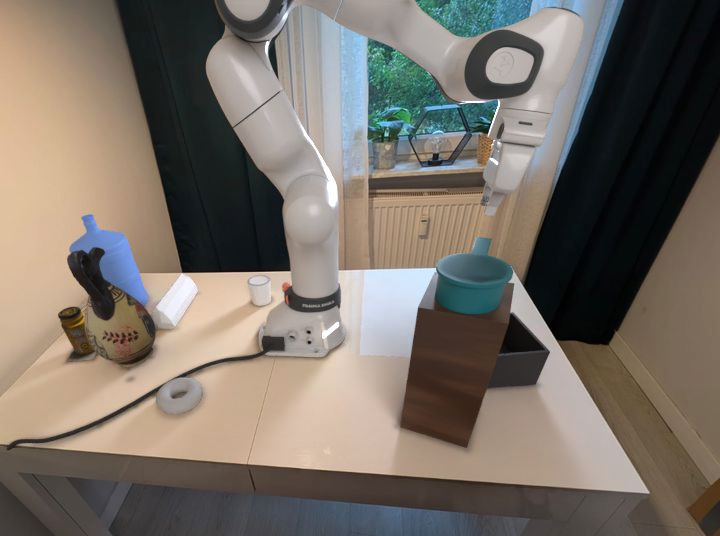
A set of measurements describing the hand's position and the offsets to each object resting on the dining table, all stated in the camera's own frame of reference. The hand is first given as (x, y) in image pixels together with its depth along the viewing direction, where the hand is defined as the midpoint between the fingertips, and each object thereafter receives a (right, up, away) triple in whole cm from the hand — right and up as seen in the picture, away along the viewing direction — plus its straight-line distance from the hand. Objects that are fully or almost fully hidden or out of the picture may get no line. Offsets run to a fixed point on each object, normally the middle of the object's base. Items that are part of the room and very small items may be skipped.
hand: (486, 210), depth 75 cm
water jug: (-92, -14, +44) cm, 103 cm away
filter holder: (-10, -17, -15) cm, 25 cm away
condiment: (-94, -28, +26) cm, 101 cm away
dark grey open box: (+4, -31, +9) cm, 33 cm away
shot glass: (-48, -13, +39) cm, 63 cm away
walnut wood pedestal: (-10, -41, -1) cm, 42 cm away
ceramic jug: (-80, -30, +22) cm, 88 cm away
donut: (-63, -39, +8) cm, 75 cm away
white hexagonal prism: (-73, -16, +39) cm, 85 cm away
